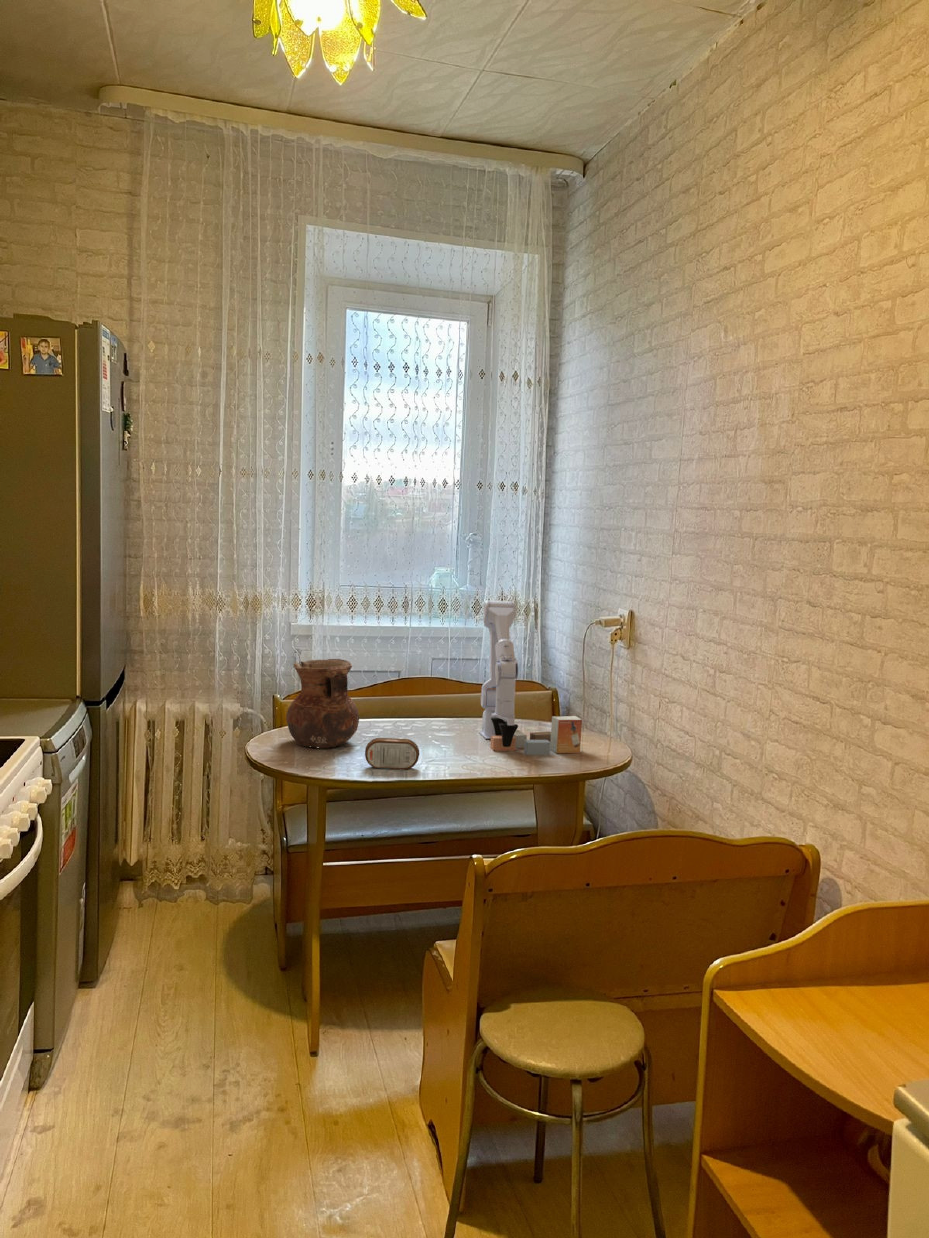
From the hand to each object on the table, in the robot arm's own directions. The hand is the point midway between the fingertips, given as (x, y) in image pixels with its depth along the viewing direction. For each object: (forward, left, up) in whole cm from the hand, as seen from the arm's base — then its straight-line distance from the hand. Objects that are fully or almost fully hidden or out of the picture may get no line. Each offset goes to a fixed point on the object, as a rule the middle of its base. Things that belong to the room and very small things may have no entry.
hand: (503, 743), depth 281 cm
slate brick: (+6, +9, -2) cm, 11 cm away
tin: (+18, -38, -2) cm, 42 cm away
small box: (+4, +19, -2) cm, 19 cm away
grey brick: (-5, +6, -2) cm, 8 cm away
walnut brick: (-4, +14, -2) cm, 15 cm away
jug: (-11, -54, -2) cm, 55 cm away
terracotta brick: (0, 0, -2) cm, 2 cm away
